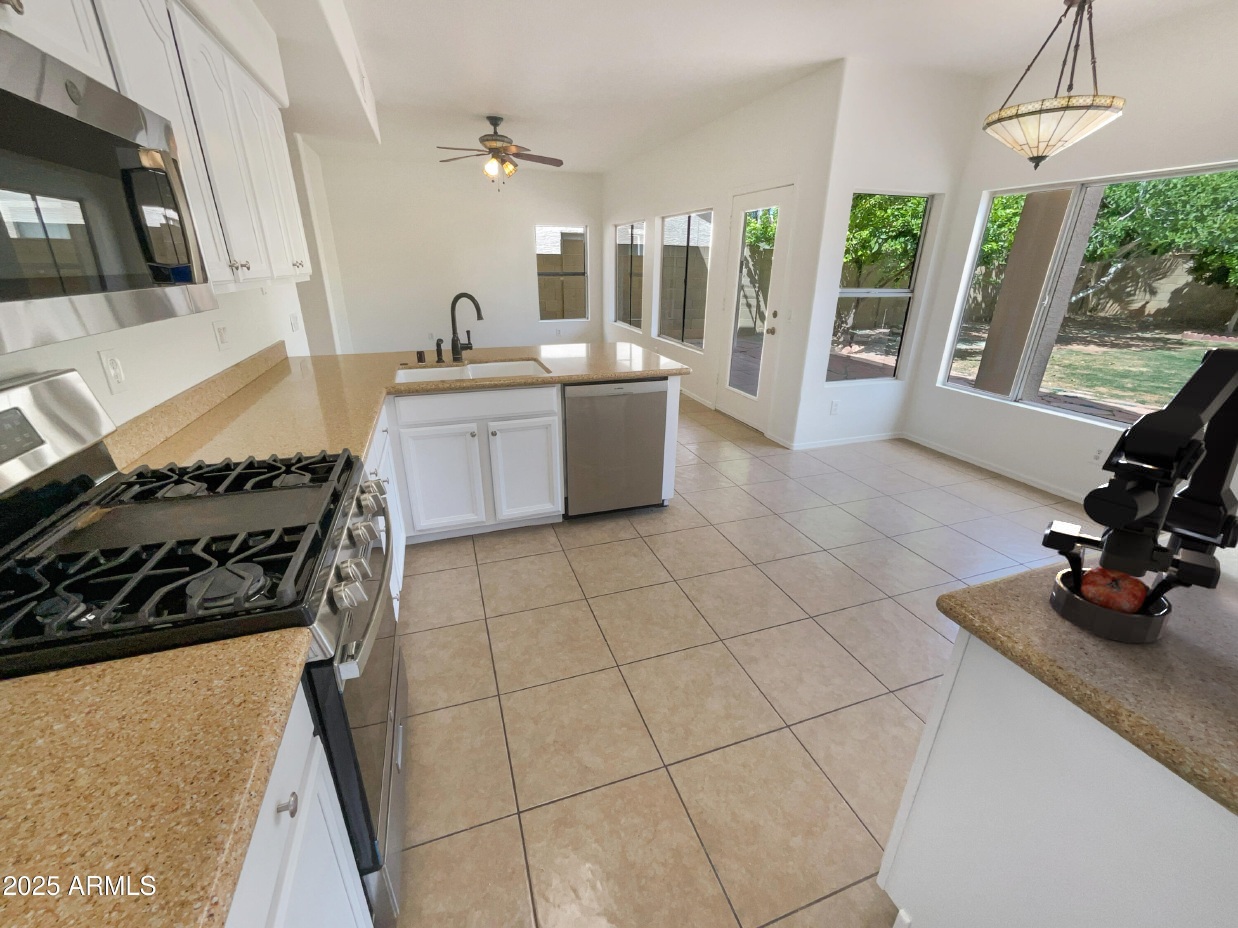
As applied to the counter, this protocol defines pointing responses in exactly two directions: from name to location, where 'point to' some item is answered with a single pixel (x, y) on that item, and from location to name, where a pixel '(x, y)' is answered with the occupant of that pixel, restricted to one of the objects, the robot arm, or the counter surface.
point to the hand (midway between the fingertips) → (1108, 598)
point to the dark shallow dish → (1108, 614)
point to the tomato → (1113, 590)
